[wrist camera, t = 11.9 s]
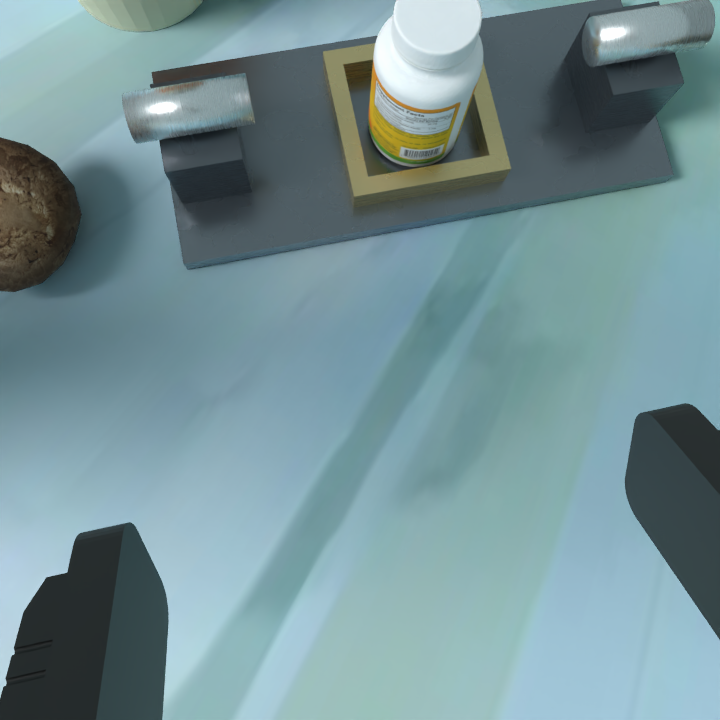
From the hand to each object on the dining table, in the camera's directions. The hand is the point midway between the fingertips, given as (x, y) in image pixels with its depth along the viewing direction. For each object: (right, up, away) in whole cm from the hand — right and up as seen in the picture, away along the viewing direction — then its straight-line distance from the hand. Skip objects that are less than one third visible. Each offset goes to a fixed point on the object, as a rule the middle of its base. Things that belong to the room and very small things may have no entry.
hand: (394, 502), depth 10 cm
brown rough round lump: (-20, +9, +28) cm, 35 cm away
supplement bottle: (+3, +16, +28) cm, 33 cm away
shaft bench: (+3, +16, +29) cm, 34 cm away
